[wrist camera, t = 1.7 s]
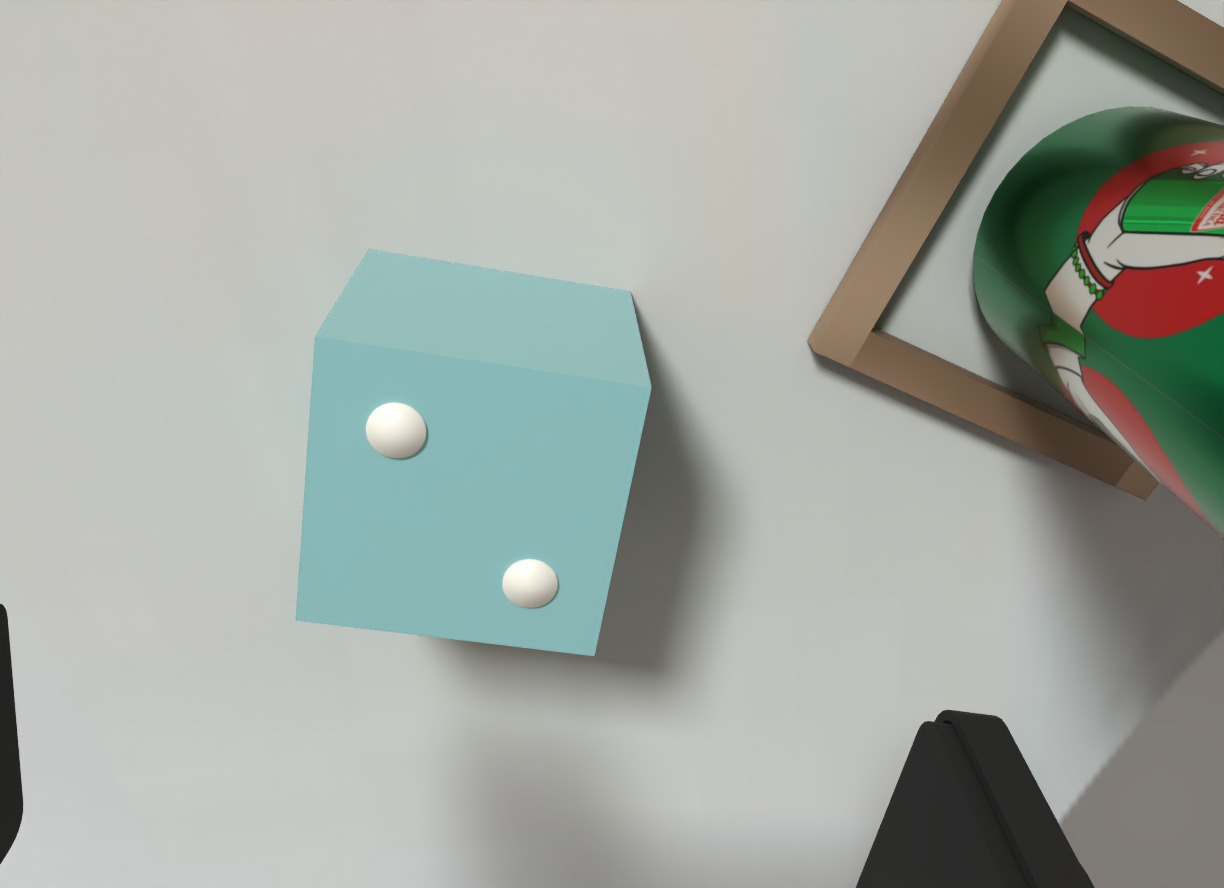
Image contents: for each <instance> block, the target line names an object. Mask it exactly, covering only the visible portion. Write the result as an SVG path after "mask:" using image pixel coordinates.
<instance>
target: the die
mask: <svg viewBox="0 0 1224 888" xmlns="http://www.w3.org/2000/svg"><path fill="white" fill-rule="evenodd" d="M651 388H652V387H651V382H650V378H649V373H648V369H647V364H646V360H645V355H644V350H643V346H642V341H641V337H640V332H639V328H638V323H637V319H636V314H635V310H634V305H633V300H632V296H631V292H630V291H624V290H618V289H612V288H606V287H600V286H593V285H587V284H581V283H575V282H569V281H563V280H556V279H550V278H544V277H538V276H532V275H526V274H519V273H513V272H507V271H501V270H495V269H489V268H482V267H476V266H470V265H464V264H458V263H452V262H445V261H439V260H433V259H427V258H421V257H415V256H408V255H402V254H396V253H390V252H384V251H378V250H371V249H369V250H368V251H367V253H366V255H365V256H364V258H363V259H362V261H361V263H360V264H359V266H358V267H357V269H356V271H355V272H354V274H353V276H352V277H351V279H350V280H349V282H348V284H347V285H346V287H345V289H344V290H343V292H342V293H341V295H340V297H339V298H338V300H337V302H336V303H335V305H334V306H333V308H332V310H331V311H330V313H329V314H328V316H327V318H326V319H325V321H324V323H323V324H322V326H321V327H320V329H319V331H318V332H317V334H316V336H315V344H314V359H313V373H312V388H311V402H310V417H309V432H308V446H307V461H306V476H305V490H304V505H303V520H302V534H301V549H300V563H299V578H298V593H297V607H296V621H304V622H313V623H321V624H329V625H338V626H346V627H354V628H363V629H371V630H379V631H388V632H396V633H405V634H413V635H421V636H430V637H438V638H446V639H455V640H463V641H471V642H480V643H488V644H496V645H505V646H513V647H521V648H530V649H538V650H546V651H555V652H563V653H571V654H580V655H588V656H595V652H596V647H597V642H598V637H599V633H600V628H601V623H602V619H603V614H604V609H605V604H606V600H607V595H608V590H609V586H610V581H611V576H612V572H613V567H614V562H615V557H616V553H617V548H618V543H619V539H620V534H621V529H622V524H623V520H624V515H625V510H626V506H627V501H628V496H629V491H630V487H631V482H632V477H633V473H634V468H635V463H636V459H637V454H638V449H639V444H640V440H641V435H642V430H643V426H644V421H645V416H646V411H647V407H648V402H649V397H650V393H651Z"/></svg>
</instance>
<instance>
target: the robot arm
mask: <svg viewBox="0 0 1224 888" xmlns="http://www.w3.org/2000/svg"><path fill="white" fill-rule="evenodd" d="M22 814H23V795H22V784H21V772H20V760H19V748H18V736H17V724H16V712H15V701H14V689H13V677H12V665H11V653H10V641H9V629H8V618H7V612H6V609H5V607H4V606H3V605H2V604H0V864H1V862H2V861H3V859H4V858H5V856H6V854H7V853H8V851H9V849H10V848H11V846H12V844H13V842H14V840H15V838H16V836H17V833H18V831H19V827H20V824H21V820H22ZM856 888H1094V886H1093V884H1092V882H1091V880H1090V879H1089V877H1088V875H1087V873H1086V872H1085V870H1084V869H1083V867H1082V866H1081V864H1080V863H1079V862H1078V860H1077V858H1076V856H1075V854H1074V852H1073V850H1072V848H1071V846H1070V845H1069V843H1068V841H1067V839H1066V837H1065V835H1064V833H1063V831H1062V829H1061V828H1060V826H1059V824H1058V822H1057V820H1056V818H1055V816H1054V814H1053V812H1052V811H1051V809H1050V807H1049V805H1048V803H1047V801H1046V799H1045V797H1044V795H1043V794H1042V792H1041V790H1040V788H1039V786H1038V784H1037V782H1036V780H1035V779H1034V777H1033V775H1032V773H1031V771H1030V769H1029V767H1028V765H1027V763H1026V762H1025V760H1024V758H1023V756H1022V754H1021V752H1020V750H1019V748H1018V746H1017V745H1016V743H1015V741H1014V739H1013V737H1012V735H1011V733H1010V731H1009V730H1008V728H1007V726H1006V724H1005V723H1004V722H1003V720H1002V719H1000V718H999V717H997V716H992V715H985V714H977V713H969V712H961V711H953V710H945V711H942V712H941V713H940V714H939V715H938V716H937V718H936V720H935V722H931V721H927V722H924V723H923V724H922V725H921V726H920V728H919V730H918V732H917V735H916V737H915V740H914V742H913V745H912V747H911V750H910V752H909V755H908V757H907V760H906V762H905V765H904V767H903V770H902V772H901V775H900V777H899V780H898V782H897V785H896V788H895V790H894V793H893V795H892V798H891V800H890V803H889V805H888V808H887V810H886V813H885V815H884V818H883V820H882V823H881V825H880V828H879V830H878V833H877V835H876V838H875V841H874V843H873V846H872V848H871V851H870V853H869V856H868V858H867V861H866V863H865V866H864V868H863V871H862V873H861V876H860V878H859V881H858V883H857V886H856Z"/></svg>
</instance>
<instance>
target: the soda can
mask: <svg viewBox="0 0 1224 888" xmlns="http://www.w3.org/2000/svg"><path fill="white" fill-rule="evenodd" d="M973 277H974V284H975V291H976V296H977V299H978V302H979V305H980V308H981V311H982V313H983V315H984V317H985V319H986V321H987V323H988V325H989V326H990V328H991V329H992V331H993V332H994V333H995V334H996V336H997V337H998V338H999V339H1000V341H1001V342H1002V343H1003V344H1004V345H1006V346H1007V347H1008V348H1009V349H1010V350H1011V351H1012V352H1013V353H1015V354H1016V355H1017V356H1018V357H1019V358H1020V359H1021V360H1022V361H1024V362H1025V363H1026V364H1027V365H1028V366H1029V367H1030V368H1031V369H1033V370H1034V371H1035V372H1036V373H1037V374H1038V375H1039V376H1040V377H1042V378H1043V379H1044V380H1045V381H1046V382H1047V383H1048V384H1049V385H1051V386H1052V387H1053V388H1054V389H1055V390H1056V391H1057V392H1059V393H1060V394H1061V395H1062V396H1063V397H1064V398H1065V399H1066V400H1068V401H1069V402H1070V403H1071V404H1072V405H1073V406H1074V407H1075V408H1077V409H1078V410H1079V411H1080V412H1081V413H1082V414H1083V415H1084V416H1086V417H1087V418H1088V419H1089V420H1090V421H1091V422H1092V423H1093V424H1095V425H1096V426H1097V427H1098V428H1099V429H1100V430H1101V431H1102V432H1104V433H1105V434H1106V435H1107V436H1108V437H1109V438H1110V439H1111V440H1113V441H1114V442H1115V443H1116V444H1117V445H1118V446H1119V447H1120V448H1122V449H1123V450H1124V451H1125V452H1126V453H1127V454H1128V455H1129V456H1131V457H1132V458H1133V459H1134V460H1135V461H1136V462H1137V463H1138V464H1140V465H1141V466H1142V467H1143V468H1144V469H1145V470H1146V471H1147V472H1149V473H1150V474H1151V475H1152V476H1153V477H1154V478H1155V479H1156V480H1158V481H1159V482H1160V483H1161V484H1162V485H1163V486H1164V487H1165V488H1167V489H1168V490H1169V491H1170V492H1171V493H1172V494H1173V495H1174V496H1176V497H1177V498H1178V499H1179V500H1180V501H1181V502H1182V503H1184V504H1185V505H1186V506H1187V507H1188V508H1189V509H1190V510H1191V511H1193V512H1194V513H1195V514H1196V515H1197V516H1198V517H1199V518H1200V519H1202V520H1203V521H1204V522H1205V523H1206V524H1207V525H1208V526H1209V527H1211V528H1212V529H1213V530H1214V531H1215V532H1216V533H1217V534H1218V535H1220V536H1221V537H1222V538H1223V539H1224V126H1223V125H1220V124H1216V123H1212V122H1209V121H1205V120H1201V119H1198V118H1194V117H1190V116H1186V115H1183V114H1179V113H1175V112H1172V111H1167V110H1162V109H1157V108H1153V107H1123V108H1116V109H1108V110H1104V111H1101V112H1097V113H1094V114H1091V115H1087V116H1084V117H1082V118H1080V119H1078V120H1075V121H1073V122H1071V123H1069V124H1067V125H1065V126H1063V127H1061V128H1060V129H1058V130H1056V131H1055V132H1053V133H1052V134H1050V135H1049V136H1047V137H1045V138H1044V139H1042V140H1041V141H1040V142H1039V143H1038V144H1037V145H1035V146H1034V147H1033V148H1032V149H1031V150H1029V151H1028V152H1027V153H1026V154H1025V155H1024V156H1023V157H1022V158H1021V159H1020V160H1019V161H1018V162H1017V163H1016V165H1015V166H1014V167H1013V168H1012V169H1011V170H1010V171H1009V172H1008V174H1007V175H1006V177H1005V178H1004V180H1003V181H1002V182H1001V184H1000V185H999V187H998V188H997V190H996V191H995V193H994V195H993V197H992V199H991V201H990V203H989V205H988V207H987V209H986V211H985V213H984V216H983V219H982V222H981V224H980V227H979V230H978V234H977V239H976V244H975V250H974V262H973Z"/></svg>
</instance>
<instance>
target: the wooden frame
mask: <svg viewBox="0 0 1224 888" xmlns="http://www.w3.org/2000/svg"><path fill="white" fill-rule="evenodd" d="M1065 5H1066V6H1067V7H1069V8H1071V9H1073V10H1074V11H1076V12H1078V13H1080V14H1081V15H1083V16H1085V17H1087V18H1089V19H1090V20H1092V21H1094V22H1096V23H1097V24H1099V25H1101V26H1103V27H1104V28H1106V29H1108V30H1110V31H1111V32H1113V33H1115V34H1117V35H1118V36H1120V37H1122V38H1124V39H1125V40H1127V41H1129V42H1131V43H1132V44H1134V45H1136V46H1138V47H1140V48H1141V49H1143V50H1145V51H1147V52H1148V53H1150V54H1152V55H1154V56H1155V57H1157V58H1159V59H1161V60H1162V61H1164V62H1166V63H1168V64H1169V65H1171V66H1173V67H1175V68H1176V69H1178V70H1180V71H1182V72H1183V73H1185V74H1187V75H1189V76H1191V77H1192V78H1194V79H1196V80H1198V81H1199V82H1201V83H1203V84H1205V85H1206V86H1208V87H1210V88H1212V89H1213V90H1215V91H1217V92H1219V93H1220V94H1222V95H1224V28H1223V27H1222V26H1220V25H1218V24H1216V23H1215V22H1213V21H1211V20H1210V19H1208V18H1206V17H1205V16H1203V15H1201V14H1199V13H1198V12H1196V11H1194V10H1193V9H1191V8H1189V7H1187V6H1186V5H1184V4H1182V3H1181V2H1179V1H1177V0H1002V2H1001V3H1000V5H999V7H998V9H997V10H996V12H995V14H994V16H993V17H992V19H991V21H990V23H989V24H988V26H987V28H986V30H985V31H984V33H983V35H982V37H981V38H980V40H979V42H978V43H977V45H976V47H975V49H974V50H973V52H972V54H971V56H970V57H969V59H968V61H967V63H966V64H965V66H964V68H963V70H962V71H961V73H960V75H959V77H958V78H957V80H956V82H955V84H954V85H953V87H952V89H951V91H950V92H949V94H948V96H947V98H946V99H945V101H944V103H943V105H942V106H941V108H940V110H939V112H938V113H937V115H936V117H935V119H934V120H933V122H932V124H931V126H930V127H929V129H928V131H927V133H926V134H925V136H924V138H923V140H922V141H921V143H920V145H919V147H918V148H917V150H916V152H915V154H914V155H913V157H912V159H911V160H910V162H909V164H908V166H907V167H906V169H905V171H904V173H903V174H902V176H901V178H900V180H899V181H898V183H897V185H896V187H895V188H894V190H893V192H892V194H891V195H890V197H889V199H888V201H887V202H886V204H885V206H884V208H883V209H882V211H881V213H880V215H879V216H878V218H877V220H876V222H875V223H874V225H873V227H872V229H871V230H870V232H869V234H868V236H867V237H866V239H865V241H864V243H863V244H862V246H861V248H860V250H859V251H858V253H857V255H856V257H855V258H854V260H853V262H852V264H851V265H850V267H849V269H848V271H847V272H846V274H845V276H844V277H843V279H842V281H841V283H840V284H839V286H838V288H837V290H836V291H835V293H834V295H833V297H832V298H831V300H830V302H829V304H828V305H827V307H826V309H825V311H824V312H823V314H822V316H821V318H820V319H819V321H818V323H817V325H816V326H815V328H814V330H813V332H812V333H811V335H810V337H809V339H808V340H807V342H808V343H809V345H810V346H811V348H812V349H813V351H814V352H816V353H818V354H821V355H823V356H825V357H827V358H829V359H832V360H834V361H836V362H838V363H841V364H843V365H845V366H847V367H850V368H852V369H854V370H856V371H858V372H861V373H863V374H865V375H867V376H870V377H872V378H874V379H876V380H879V381H881V382H883V383H885V384H887V385H890V386H892V387H894V388H896V389H899V390H901V391H903V392H905V393H907V394H910V395H912V396H914V397H916V398H919V399H921V400H923V401H925V402H928V403H930V404H932V405H934V406H936V407H939V408H941V409H943V410H945V411H948V412H950V413H952V414H954V415H957V416H959V417H961V418H963V419H965V420H968V421H970V422H972V423H974V424H977V425H979V426H981V427H983V428H985V429H988V430H990V431H992V432H994V433H997V434H999V435H1001V436H1003V437H1006V438H1008V439H1010V440H1012V441H1014V442H1017V443H1019V444H1021V445H1023V446H1026V447H1028V448H1030V449H1032V450H1035V451H1037V452H1039V453H1041V454H1043V455H1046V456H1048V457H1050V458H1052V459H1055V460H1057V461H1059V462H1061V463H1063V464H1066V465H1068V466H1070V467H1072V468H1075V469H1077V470H1079V471H1081V472H1084V473H1086V474H1088V475H1090V476H1092V477H1095V478H1097V479H1099V480H1101V481H1104V482H1106V483H1108V484H1110V485H1113V486H1115V487H1117V488H1119V489H1121V490H1124V491H1126V492H1128V493H1130V494H1133V495H1135V496H1137V497H1139V498H1142V499H1144V500H1146V499H1147V497H1148V496H1149V495H1150V493H1151V492H1152V491H1153V489H1154V488H1155V487H1156V486H1157V484H1158V483H1159V481H1158V480H1156V479H1155V478H1154V477H1153V476H1152V475H1151V474H1150V473H1149V472H1147V471H1146V470H1145V469H1144V468H1143V467H1142V466H1141V465H1140V464H1138V463H1137V462H1136V461H1135V460H1134V459H1133V458H1132V457H1131V456H1129V455H1128V454H1127V453H1126V452H1125V451H1124V450H1123V449H1122V448H1120V447H1119V446H1118V445H1117V444H1116V443H1115V442H1114V441H1113V440H1111V439H1110V438H1109V437H1108V436H1107V435H1106V434H1104V433H1102V432H1100V431H1098V430H1096V429H1093V428H1091V427H1089V426H1087V425H1085V424H1083V423H1080V422H1078V421H1076V420H1074V419H1072V418H1070V417H1067V416H1065V415H1063V414H1061V413H1059V412H1057V411H1054V410H1052V409H1050V408H1048V407H1046V406H1044V405H1041V404H1039V403H1037V402H1035V401H1033V400H1031V399H1028V398H1026V397H1024V396H1022V395H1020V394H1018V393H1015V392H1013V391H1011V390H1009V389H1007V388H1005V387H1002V386H1000V385H998V384H996V383H994V382H992V381H989V380H987V379H985V378H983V377H981V376H979V375H976V374H974V373H972V372H970V371H968V370H966V369H963V368H961V367H959V366H957V365H955V364H953V363H950V362H948V361H946V360H944V359H942V358H940V357H937V356H935V355H933V354H931V353H929V352H927V351H924V350H922V349H920V348H918V347H916V346H914V345H911V344H909V343H907V342H905V341H903V340H901V339H898V338H896V337H894V336H892V335H890V334H888V333H885V332H883V331H881V330H879V329H877V328H875V327H874V325H875V323H876V321H877V320H878V318H879V316H880V315H881V313H882V311H883V310H884V308H885V306H886V305H887V303H888V301H889V300H890V298H891V296H892V295H893V293H894V291H895V290H896V288H897V286H898V285H899V283H900V281H901V280H902V278H903V276H904V275H905V273H906V271H907V269H908V268H909V266H910V264H911V263H912V261H913V259H914V258H915V256H916V254H917V253H918V251H919V249H920V248H921V246H922V244H923V243H924V241H925V239H926V238H927V236H928V234H929V233H930V231H931V229H932V228H933V226H934V224H935V222H936V221H937V219H938V217H939V216H940V214H941V212H942V211H943V209H944V207H945V206H946V204H947V202H948V201H949V199H950V197H951V196H952V194H953V192H954V191H955V189H956V187H957V186H958V184H959V182H960V181H961V179H962V177H963V175H964V174H965V172H966V170H967V169H968V167H969V165H970V164H971V162H972V160H973V159H974V157H975V155H976V154H977V152H978V150H979V149H980V147H981V145H982V144H983V142H984V140H985V139H986V137H987V135H988V134H989V132H990V130H991V129H992V127H993V125H994V123H995V122H996V120H997V118H998V117H999V115H1000V113H1001V112H1002V110H1003V108H1004V107H1005V105H1006V103H1007V102H1008V100H1009V98H1010V97H1011V95H1012V93H1013V92H1014V90H1015V88H1016V87H1017V85H1018V83H1019V82H1020V80H1021V78H1022V76H1023V75H1024V73H1025V71H1026V70H1027V68H1028V66H1029V65H1030V63H1031V61H1032V60H1033V58H1034V56H1035V55H1036V53H1037V51H1038V50H1039V48H1040V46H1041V45H1042V43H1043V41H1044V40H1045V38H1046V36H1047V35H1048V33H1049V31H1050V29H1051V28H1052V26H1053V24H1054V23H1055V21H1056V19H1057V18H1058V16H1059V14H1060V13H1061V11H1062V9H1063V8H1064V6H1065Z"/></svg>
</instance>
